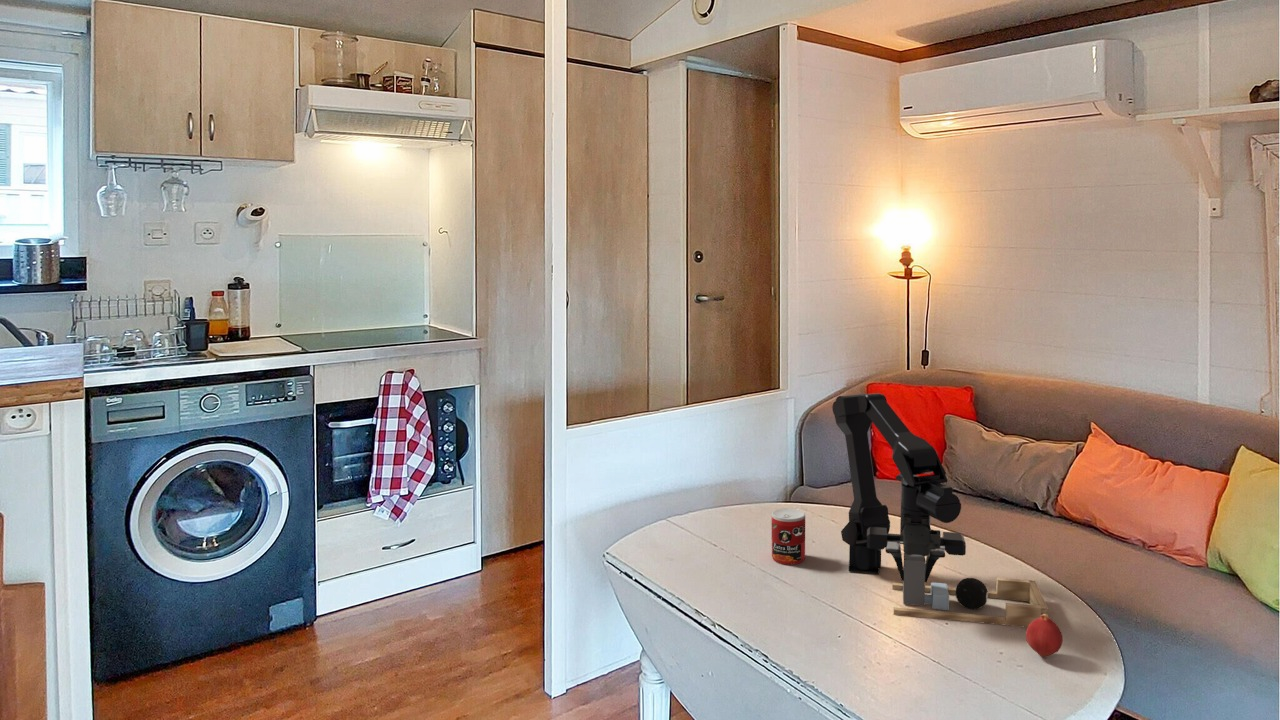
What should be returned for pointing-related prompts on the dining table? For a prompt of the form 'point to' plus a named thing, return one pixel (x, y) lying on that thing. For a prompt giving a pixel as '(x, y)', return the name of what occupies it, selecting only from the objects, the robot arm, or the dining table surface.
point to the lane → (947, 614)
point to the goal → (1023, 592)
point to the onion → (1044, 636)
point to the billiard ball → (971, 593)
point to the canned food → (788, 536)
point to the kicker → (922, 585)
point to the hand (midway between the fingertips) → (913, 581)
